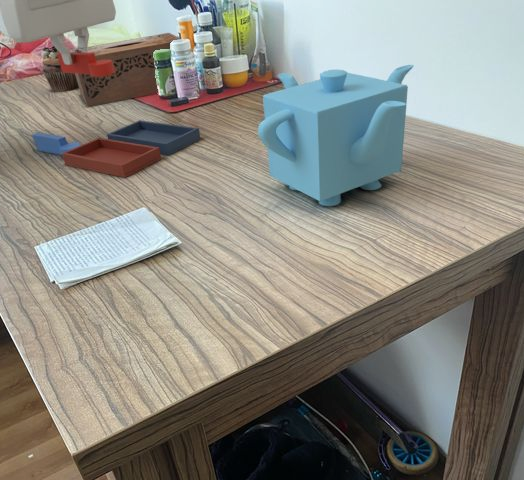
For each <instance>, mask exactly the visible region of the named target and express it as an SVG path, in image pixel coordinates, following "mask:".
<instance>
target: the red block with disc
mask: <svg viewBox="0 0 524 480" xmlns="http://www.w3.org/2000/svg"><path fill="white" fill-rule="evenodd" d="M74 53H75V58H76V60H77V62H76V63H73V64H70V65H66V64H65V63H64V61H63V58H62V55H61V53H58V54H57V57H58V60H59V63H60V66H61V69H62V72H63V73H77V74H91V76H93V77H102V76H107V75H111V74H113V73H114V72H115V70H114V66H113V63H112V60H109V59H106V60H98V61H96V58H95V55H94V53H81V52H74Z"/></svg>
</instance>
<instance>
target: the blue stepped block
mask: <svg viewBox="0 0 524 480" xmlns="http://www.w3.org/2000/svg"><path fill="white" fill-rule="evenodd" d="M31 136H32V139H33V142H34V144H35V147H36V150H37V151H38V152H44V153H48V154H54V155H59V156H62V153H64V152H67V151H69V150H71V149H74V148H76V147H78V146H81V145H83V144H82V143H81V142H79V141H73V142H68V141H67V138H66V136H62V135H57V134H51V133H46V132H45V133H44V132H39V131H38V132H35V133H32V134H31Z"/></svg>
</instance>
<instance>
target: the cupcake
mask: <svg viewBox="0 0 524 480" xmlns="http://www.w3.org/2000/svg"><path fill="white" fill-rule="evenodd" d="M66 47H67V46H66ZM67 48H68V50H70V48H69V47H67ZM58 53H60V52H59V51H58V50H57V49H56V48H55V46H54V45H53V46H51V47H44V48H43V49H42V52H40V55H41V57H42V58H43V59H42V65H43V66H42V71H41V73H42V74H43V76H44V77H45V79H46V81H47V83H48V85H49V87H50V89H51V91H52V92H54V93H55V92H56V93H57V92H58V93H61V92H68V91H72V90H76V89H79V86H78V82H77V79H76V76H75V73H63V72H62V69H61V66H60V63H59V60H58V57H57V54H58Z"/></svg>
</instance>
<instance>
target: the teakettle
mask: <svg viewBox="0 0 524 480" xmlns="http://www.w3.org/2000/svg"><path fill="white" fill-rule="evenodd" d="M414 67H415V66H414V64H406V65H403V66H399V67H397V68H395V69H394V70H393V71H391V73H390V75H389V76H388V78H387V80H384V79H380V78H377V77H376V78H375V77H371V76H366V75H361V74H357V73H351V72H348V71H346V70H344V69H328V70H325V71H323V72H320V74H319V79H316V80H312V81H309V82H306V83H305V82H304V83H301V84H299V83H298V81H297V79H296V78H295V77H294V76H293V75H291V74H289V73H283V72H282V73H278V74H277V78H278V79H279V80H280V82H281V83H282V85H283V89H280V90H275V91H272V92H269V93H266V94H263V96H262V103H263V104H262V105H263V114H264V115H263V116H264V119H263V120H262V121H261V122H260V123H259V125H258V127H257V135H258V137H259V139H260V141H261V142H262V144H263V145H264V146H265V147H266V148H267V159H268V170H269V177H271V178H273V179H275V180H277V181H278V182H281V183H283V184H285V185H287V186H288V188H289V189H290V190H292V191H299V192H301V193H303V194H304V195H307V196H308V197H311V198H312V199H314V200H317V201H318V204H319V205H321V206H323V207H333V206H337V205H339V204H340V203H341V202H342V198H341V197H342V196H341V194H344V193H346V192H348V191H351V190H354V189H356V188H360V189H361V190H365V191H375V190H378V189H380V188H381V187H382V183H380V181H379V180H380V179H383V178H385V177H388V176H391V175H394V174H396V173H399V172H402V167H403V155H404V141H405V129H406V128H405V127H406V117H407V115H406V114H407V104H408V103H407V102H408V101H407V100H408V91H409V90H408V89H409V87H408V85H407V84H403V80H405V77H406V76H407V75H408V74H409V72H410V71H412V69H413V68H414Z"/></svg>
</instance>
